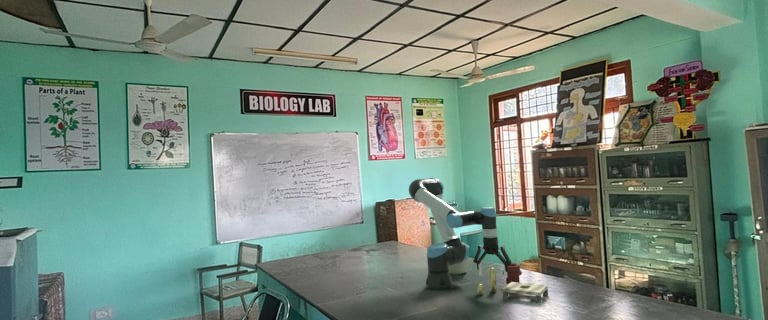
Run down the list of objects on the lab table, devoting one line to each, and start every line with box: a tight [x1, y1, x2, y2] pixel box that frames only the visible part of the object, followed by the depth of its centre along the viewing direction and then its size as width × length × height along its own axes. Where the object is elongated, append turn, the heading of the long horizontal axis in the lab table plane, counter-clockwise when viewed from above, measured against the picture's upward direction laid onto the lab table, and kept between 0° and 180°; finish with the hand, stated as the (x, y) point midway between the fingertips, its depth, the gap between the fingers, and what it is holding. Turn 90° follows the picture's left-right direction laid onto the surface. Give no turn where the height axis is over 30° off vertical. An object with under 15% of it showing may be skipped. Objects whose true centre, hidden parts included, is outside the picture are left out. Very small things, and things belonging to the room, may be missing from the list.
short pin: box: [476, 283, 484, 296], centre depth 220 cm, size 3×3×5 cm
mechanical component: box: [502, 262, 523, 286], centre depth 232 cm, size 12×10×10 cm
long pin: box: [488, 267, 498, 293], centre depth 225 cm, size 3×3×12 cm
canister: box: [449, 243, 470, 275], centre depth 270 cm, size 18×18×21 cm
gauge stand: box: [501, 282, 549, 304], centre depth 211 cm, size 18×14×5 cm
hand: (493, 277), depth 224 cm, fingers open, 13 cm apart
